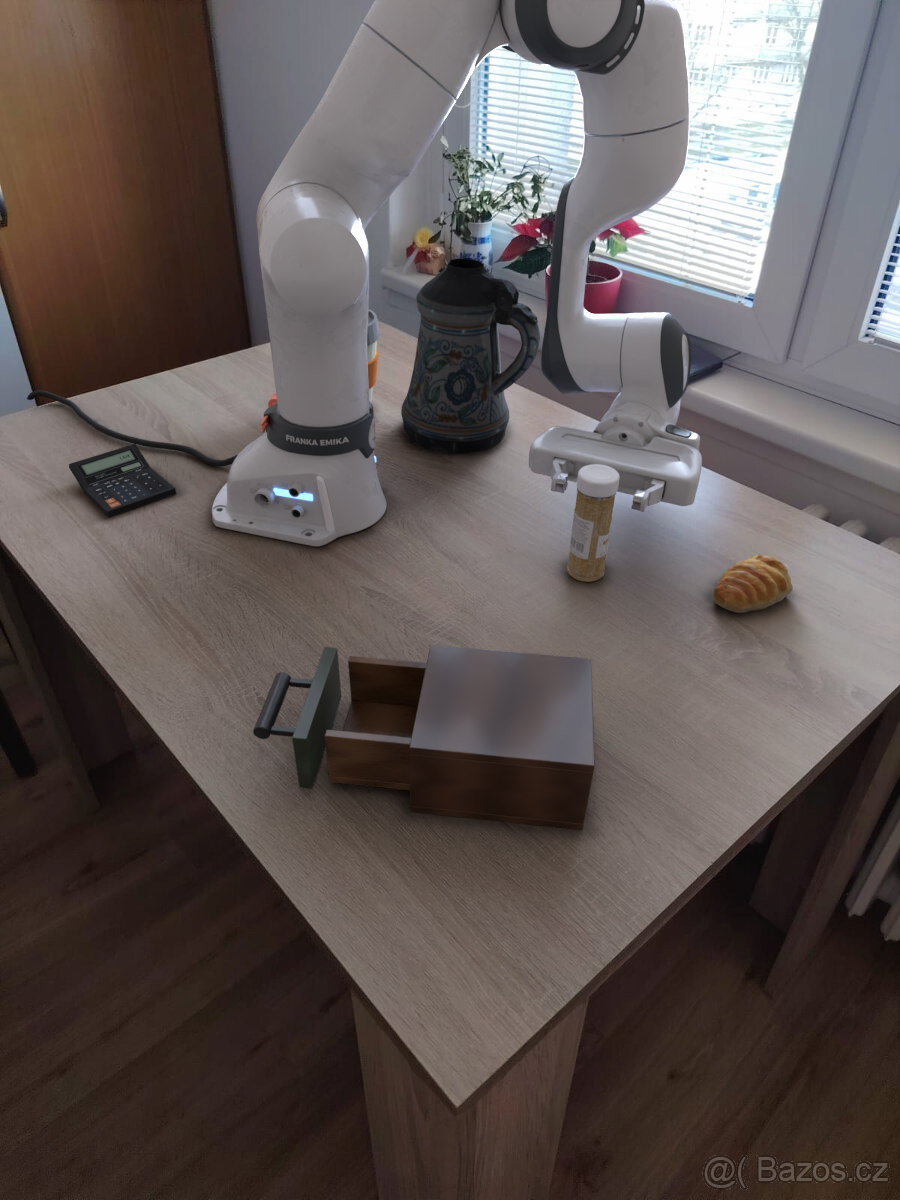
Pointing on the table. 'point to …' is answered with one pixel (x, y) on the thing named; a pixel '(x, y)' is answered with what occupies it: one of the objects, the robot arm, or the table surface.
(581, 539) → the sprinkles bottle
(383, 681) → the drawer
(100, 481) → the calculator
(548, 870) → the table surface
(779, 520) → the table surface
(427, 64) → the robot arm
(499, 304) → the beer stein
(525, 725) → the cabinet
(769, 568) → the pastry
